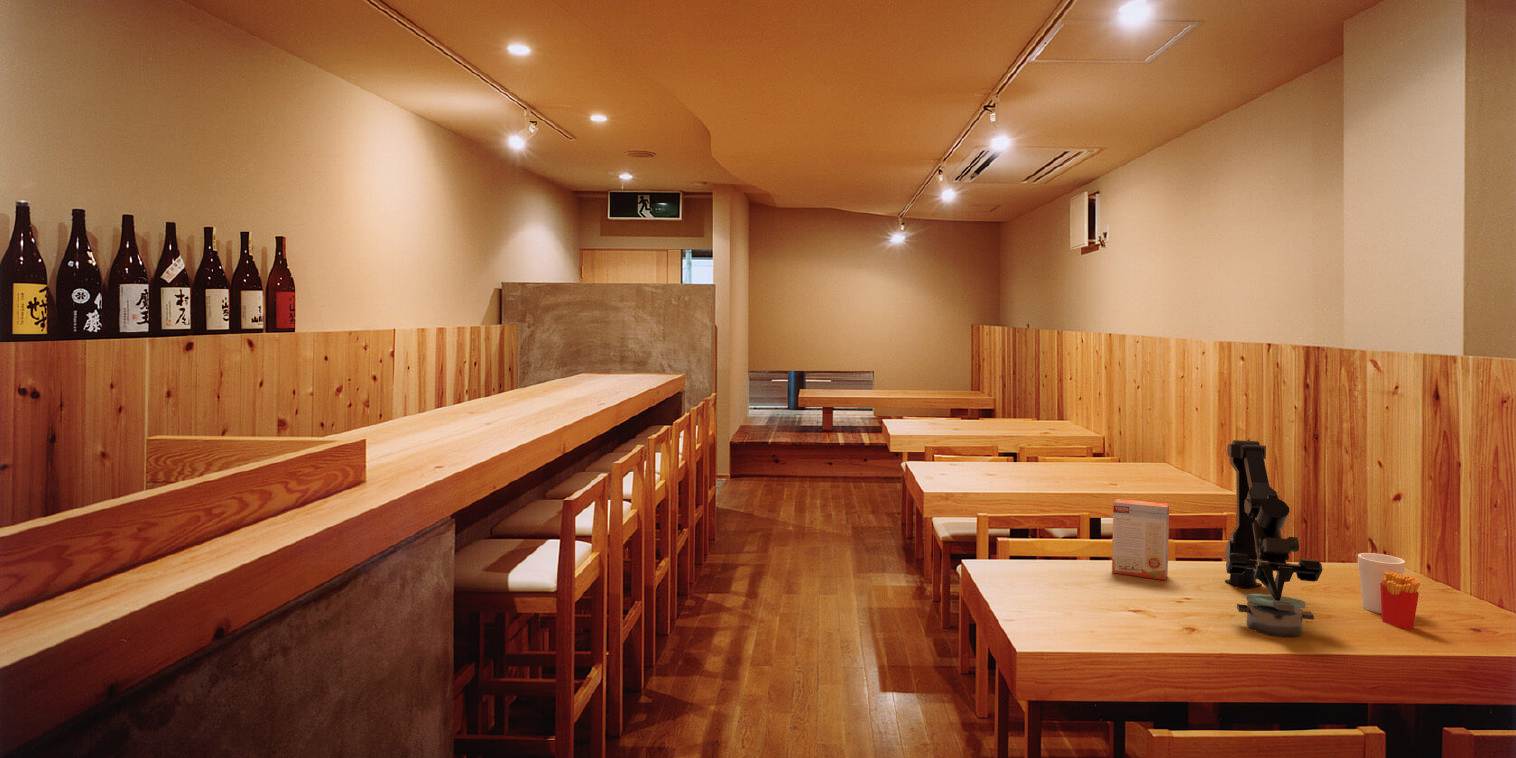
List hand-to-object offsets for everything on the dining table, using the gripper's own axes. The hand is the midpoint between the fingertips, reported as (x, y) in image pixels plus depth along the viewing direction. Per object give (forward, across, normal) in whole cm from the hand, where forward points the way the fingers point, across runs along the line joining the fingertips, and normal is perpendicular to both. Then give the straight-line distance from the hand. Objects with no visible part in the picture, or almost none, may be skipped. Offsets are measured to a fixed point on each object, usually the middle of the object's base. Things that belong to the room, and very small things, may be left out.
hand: (1278, 599), depth 187 cm
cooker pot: (+4, 0, +7) cm, 8 cm away
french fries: (-6, +28, +17) cm, 33 cm away
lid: (+1, 0, +1) cm, 1 cm away
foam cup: (-13, +28, +24) cm, 39 cm away
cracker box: (-21, -26, +32) cm, 46 cm away
